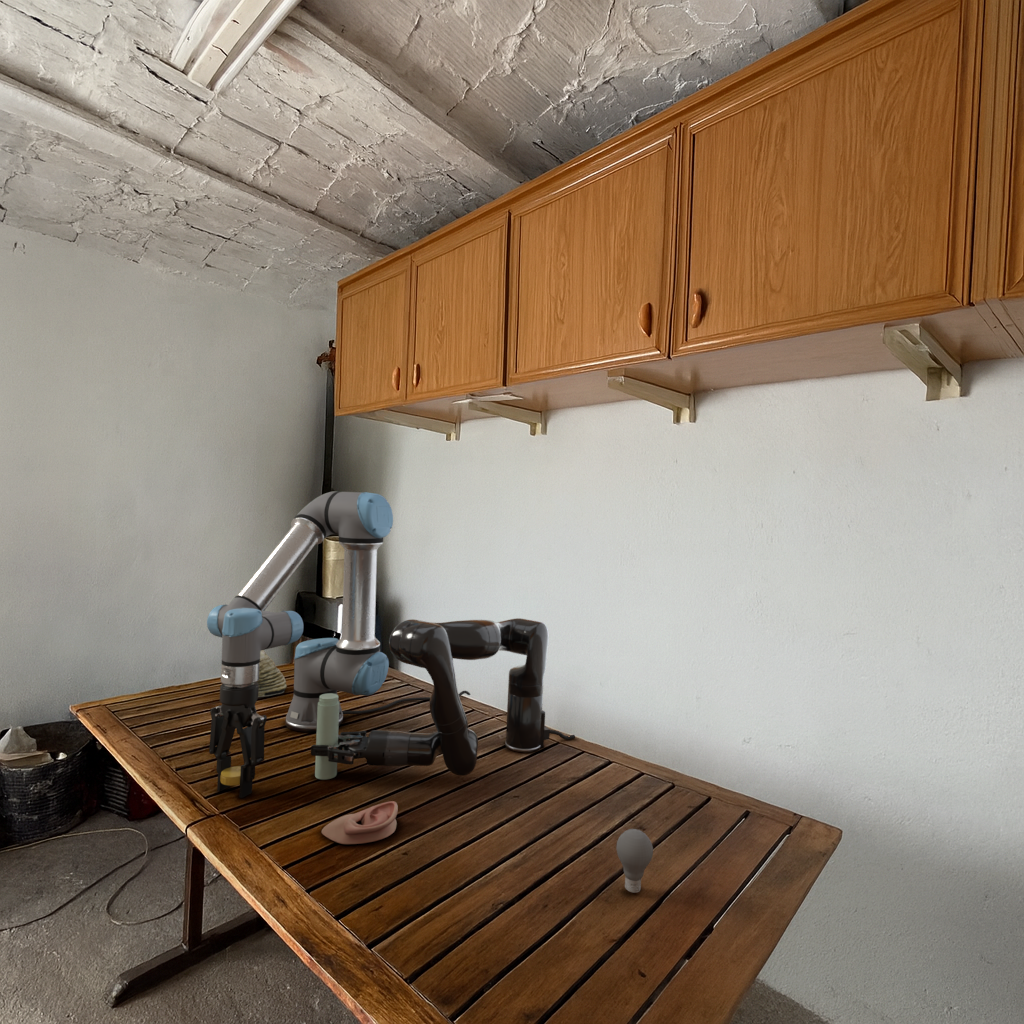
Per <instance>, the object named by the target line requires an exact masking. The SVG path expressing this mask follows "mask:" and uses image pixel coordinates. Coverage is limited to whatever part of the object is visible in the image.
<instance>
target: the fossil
mask: <svg viewBox="0 0 1024 1024" xmlns="http://www.w3.org/2000/svg"><path fill="white" fill-rule="evenodd" d="M257 683H258V684H259V689H258V698H264V697H271V696H275V695H281V694H284V693H285V691H286V689H287V687H288V686H287V680H286V678H285V676H284V674H283V673H282V672H281V669H279V668H278V667H277V665H276V663H275V662H274V660H273V659H272V658H271V657H270V656H269V655H268V654H267V653H266V652H265V650H261V651H260V665H259V680H258V681H257Z"/></svg>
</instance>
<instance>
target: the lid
mask: <svg viewBox="0 0 1024 1024" xmlns="http://www.w3.org/2000/svg"><path fill="white" fill-rule="evenodd" d="M241 766H242V765H237V766H231V767H230V768H227V769H225V770H223V771H222V772H221V775H220V781H221V783H222V784H224V785H230V787H232V786H240V773H241Z"/></svg>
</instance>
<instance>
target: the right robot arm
mask: <svg viewBox="0 0 1024 1024" xmlns="http://www.w3.org/2000/svg"><path fill="white" fill-rule="evenodd" d="M549 638H550V636H549V629H548V626H547V625H546V623H544V622H543V621H539V620H533V619H527V618H519V617H517V618H511V619H506V620H501V621H494V620H490V619H465V620H452V621H445V622H432V621H426V620H420V619H414V618H412V619H411V618H410V619H406V620H404V621H401V622H400V623H398V624H397V625H396V626H395V627H394V628H393V630H392V631H391V633H390V635H389V639H388V646H389V650H390V652H391V654H392V657H394V658H395V659H396V660H398V661H399V662H401V663H404V664H406V665H411V666H414V667H418V668H422V669H424V670H426V671H427V673H428V674H429V675H428V676H430V679H431V680H432V684H433V688H432V692H431V694H430V697H431V698H430V700H429V713H430V715H431V718H432V721H433V723H434V726H435V729H436V731H433V732H430V733H425V732H424V733H423V732H407V731H403V730H402V731H400V730H379V729H378V730H377V729H376V730H375V729H374V730H371V731H370V732H369V734H368V736H367V731H366V730H357V731H341V732H340V733H339V734H338V745H330V746H329V745H316V744H312V745H311V747H310V756H313V757H316V756H328V761H329V762H336V763H337V764H344V765H349V766H351V765H354V762H355V761H354V760H359V759H365V761H366V764H367V765H369V766H378V767H406V766H409V767H410V766H412V767H429V766H432V765H433V764H434V763H435V761H436V758H437V756H439V755H441V754H442V758H443V759H442V760H443V761H444V764H445V766H446V768H447V770H448V771H449V772H450V773H451V774H453V775H455V776H458V777H466V776H468V775H469V774H471V773H472V772H473V771H474V770H475V768H476V765H477V762H478V748H479V747H478V746H479V737H478V735H477V734H476V733H475V731H474V730H472V729H470V728H469V722H468V718H467V717H468V716H467V715H466V712H465V710H464V706H463V703H462V701H461V696H460V697H459V690H458V685H457V677H456V671H455V664H454V659H455V660H463V661H477V660H486V659H491V658H492V657H494V656H496V655H497V654H498V653H499V652H508V653H512V654H516V655H522V656H525V658H526V659H525V664H521V665H515V666H513V667H511V668H510V669H509V670H508V684H507V707H506V725H505V726H506V727H505V741H504V742H505V744H504V745H505V747H506V748H507V750H510V751H512V752H517V753H533V752H537V751H539V750H541V749H544V747H545V741H547V740H550V738H551V737H550V736H551V735H556V736H558V737H560V738H561V739H563V740H566V741H570V740H574V739H576V735H575V734H571V735H565V734H563V733H562V732H560V731H558V730H554V729H550V728H548V726H546V711H545V710H544V709H543V704H544V681H545V674H546V671H547V670H546V669H547V663H548V662H547V660H548V650H549ZM568 736H570V737H568ZM334 753H335V754H334Z"/></svg>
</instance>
